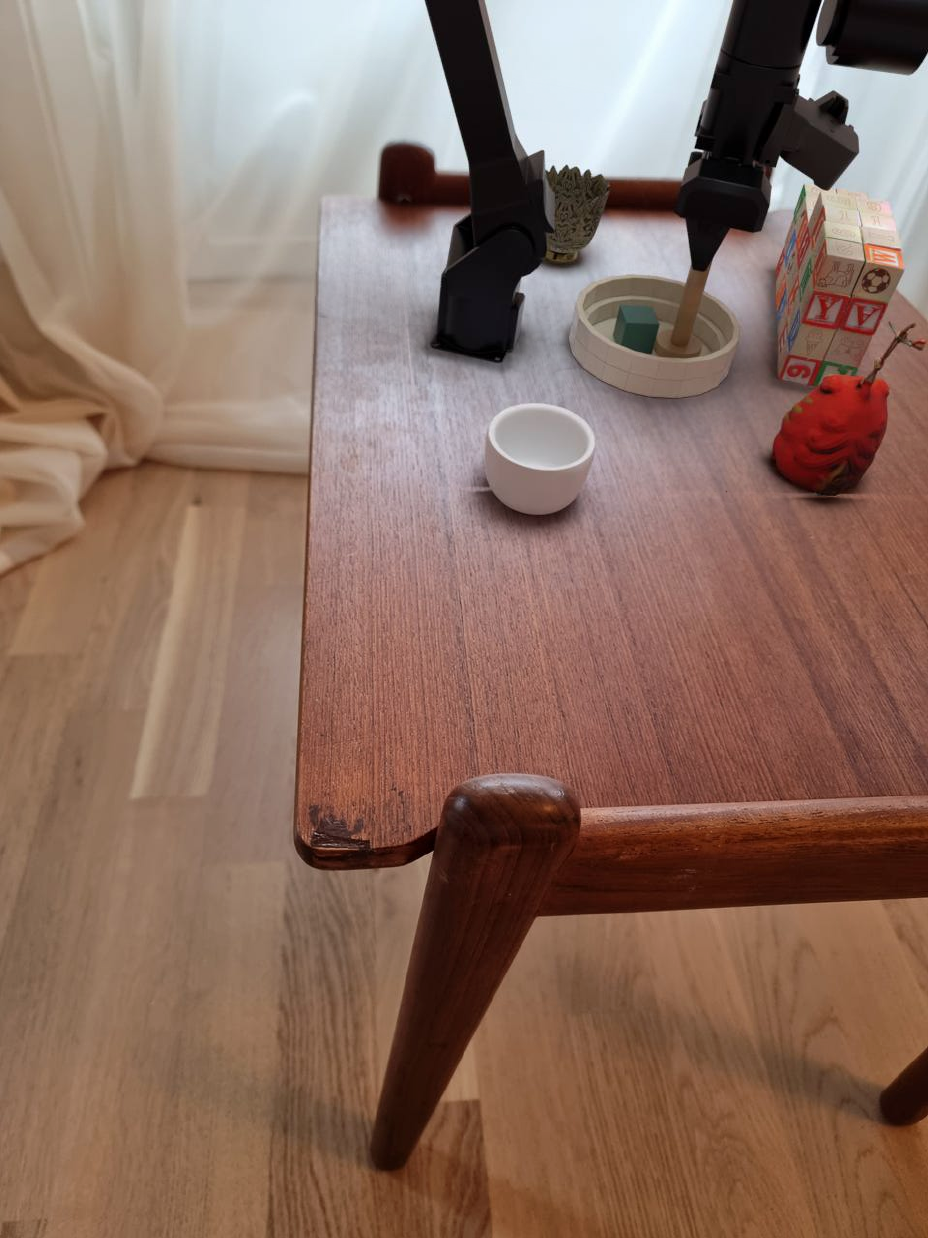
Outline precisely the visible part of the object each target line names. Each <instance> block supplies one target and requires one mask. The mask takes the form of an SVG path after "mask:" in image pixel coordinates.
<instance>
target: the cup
mask: <svg viewBox="0 0 928 1238" xmlns="http://www.w3.org/2000/svg"><path fill="white" fill-rule="evenodd" d="M545 170H546V179H547V181H548V184H549V187H550V188H551V190H552V191H553V193H554V194H555V220H554V233H553V234H550V233H548V245H547V253H546V257H545V258H544V261H546V262H548V263H550V264H554V265H559V266H566V265H570V264H573V263H574V262H575V261H576V260H577V258H578V252H579V251H582V250H583V249H585V248H586V247H587V246H588V245H589V244H590V243H592V241H593V239H594V237H595V235H596V233H597V231H598V228H599V225H600V222H601V219H602V216H603V213H604V210H605V207H606V203H607V200H608V197H609V194H610V190H609V189H610V186H611V185H610V181H607V182H606V179H605V177H604V175H603V174H602V173H599V174H597V175H595V176H592V175H593V174H592V172H591V169H590V168H587V169H585V171H584V172H583V174H582V173H581V169H580V168H579V167H578V166H574V167H573V166H572V167H571V168H570V167H569V165H568V164H565V165H564V166H563V167H562V168H561V169H560V170H559V171H557V169H556V166H555V165H554V164H553V165H551V168H550V169H549V170H548V169H546V168H545Z"/></svg>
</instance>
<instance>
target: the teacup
mask: <svg viewBox="0 0 928 1238" xmlns="http://www.w3.org/2000/svg"><path fill="white" fill-rule="evenodd" d="M595 453H596V437H595V433H594V432H593V429H592V428H591V426H590V425H589V424H588V423H587V421H586V420H584V419H583V418H582V417H581V416H579V415H578V414H576V413H575V412H572V411H571V410H569V409H567V408H565V407H561V406H557V405H554V404H549V403H540V402H527V403H520V404H516V405H512V406H509V407H507V408H504V409H503V410H501V411H500V412H498V413H497V414H496V415H495V416H494V417H493V418H492V420H491V421H490V423H489V425H488V427H487V431H486V435H485V443H484V472H485V473H484V474H485V477H486V480H487V483H488V486H489V488H490V490H491V491H492V493H493V494H494V496H495V497H496V498H497V499H498V500H499V501H500V502H501V503H502V504H504V505H505V506H506V507H508V508H510V509H511V510H513V511H516V512H519V513H522V514H525V515H526V514H527V515H533V516H538V515H540V516H543V515H548V514H553V513H556V512H559V511H561V510H562V509H564V508H566V507H567V506H569V505H571V504H572V502H574V501H575V499H576V498H577V497H578V495H579V494H580V492H581V490H582V488H583V486H584V484H585V482H586V480H587V478H588V475H589V472H590V469H591V467H592V466H591V465H592V462H593V461H594V458H595Z"/></svg>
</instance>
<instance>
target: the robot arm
mask: <svg viewBox="0 0 928 1238" xmlns="http://www.w3.org/2000/svg"><path fill="white" fill-rule="evenodd" d="M424 4H425V8H426V10H427V16H428V19H429V22H430V26H431V29H432V33H433V38H434V40H435V45H436V49H437V52H438V56H439V60H440V63H441V66H442V70H443V74H444V77H445V81H446V85H447V90H448V93H449V96H450V99H451V103H452V107H453V110H454V115H455V118H456V122H457V125H458V129H459V133H460V136H461V140H462V144H463V148H464V151H465V156H466V159H467V164H468V179H469V199H470V200H469V201H470V203H469V204H470V212H469V213H468V214H466V215H464V216H463V217H462V218H461V219H460V220H458V221H457V222H456V223H454V224H453V226H452V232H451V236H450V242H449V249H448V253H447V254H448V255H447V258H446V264H445V268H444V269H443V271H442V273H441V275H440V283H439V296H438V310H437V320H436V332H435V334H434V336H433V337H432V339H431V341H430V343H429V347H430V348H432V349H434V350H435V349H436V350H439V351H443V352H447V353H452V354H456V355H461V356H465V357H468V358H473V359H478V360H483V361H486V362H491V363H495V364H501V363H503V362H504V360H505V358H506V356H507V354H508V352H511V351H513V350H514V348H515V346H516V345H517V342H518V340H519V337H520V332H521V327H522V321H523V320H522V319H523V313H524V308H525V301H526V296H525V294H524V292H520V289H521V283H522V278H524V277H527V276H529V275H531V274H532V273H533V272H535V271H536V270H538V269H539V267H540V266H541V264H542V263H543V262H544V261H545V259H544V258H545V257H546V253H547V245H548V233H550V234H553V233H554V220H555V194H554V193H553V191H552V190H551V188H550V187H549V184H548V181H547V179H546V170H547V169H546V152H545V150H544V149H540V150H539V151H536V152H533V153H532V154H530V155H528V153H527V152H526V150H525V148H524V146H523V144H522V143H521V141H520V139H519V137H518V135H517V132H516V128H515V124H514V119H513V116H512V111H511V107H510V103H509V99H508V94H507V90H506V86H505V81H504V77H503V72H502V68H501V64H500V60H499V56H498V52H497V51H498V50H497V46H496V42H495V39H494V35H493V30H492V26H491V22H490V21H491V20H490V17H489V13H488V8H487V4H486V0H424ZM819 11H820V12H819ZM817 17H818V19H817ZM816 20H817V25H816V30H815V43H816V46H818V47H822V48H825V61H826V63H827V65H829V66H835V67H843V68H851V69H858V70H866V71H872V72H879V73H880V72H881V73H887V74H894V75H901V76H907V77H908V76H911V75H913V74H915V73H916V72H917V70H919V68H920V67H921V65H922V64H923V63H924V61H925V59H926V57H927V56H928V0H732V3H731V6H730V11H729V14H728V17H727V22H726V25H725V30H724V33H723V38H722V42H721V45H720V48H719V52H718V56H717V60H716V63H715V67H714V71H713V75H712V79H711V82H710V85H709V86H710V87H709V90H708V93H707V97H706V99H705V100H704V101H702V105H701V109H700V112H699V116H698V120H697V123H696V128H695V131H694V135H693V136H694V137H696V139H695V144H694V148H693V149H695V151H691V152H690V155H689V157H688V162H687V167H685V169H684V173H683V176H682V180H681V184H680V189H679V192H678V195H677V198H676V199H677V200H676V204H675V207H674V210H673V213H674V214H675V215H677V217H679V218H682V219H684V221H685V227H686V233H687V241H688V248H689V256H690V265H691V264H692V269H693V270H696V271H700V272H705V271H706V270H707V268H708V266H709V265H710V263H711V261H712V259H713V260H714V257H715V256H716V254H717V252H718V251H719V249H720V247H721V245H722V243H723V242H724V240H725V239H726V237H727V235H728V233H729V232H730V230H731V229H732V230H737V231H742V232H746V233H751V234H754V233H759V232H762V231H763V227H764V224H765V221H766V218H767V215H768V212H769V210H770V206H771V199H772V198H771V197H772V188H773V187H772V184H771V182H770V180H769V178H768V177H767V175H766V172H767V167H768V168H769V167H770V168H774V169H775V168H777V165H778V162H779V159H780V158H781V159H782V160H783V161H784V162H785V163H786V164H788V165H789V166H791V167H792V168H794V169H795V170H797V171H798V172H800V173H802V174H803V175H804V176H806V177H807V178H809V179H811V180H812V181H813V185H816V186H817V187H819V188H820V189H822V190H825V191H829V190H830V189H831V188H833V186H834V185H835V184H836V183H837V182H838V180H839V179H840V178H841V177H842V175H843V174H844V173H845V171H846V170H847V169H848V168H849V167H850V165H851V164H852V163H853V161H854V160H855V159H856V158H857V156H858V155H859V154H860V141H859V136H858V134H857V132H856V131H855V127H854V126H853V125H852V124H851V123H849V124H846V122H847V117H848V114H849V108H850V105H849V104H850V101H849V99H848V98H847V97H846V96H843V94H840V93H839V92H837V91H836V90H834V89H833V90H831V91H829V92H828V93H825V94H824V95H823V96H822V95H821V97H819V98H817V99H813V98H812V97H809V98H808V99H806V98H805V97H803V96H802V95H800V88H799V84H800V81H801V74H800V71H801V67H802V65H803V61H804V57H805V55H806V52H807V49H808V45H809V42H810V39H811V36H812V33H813V30H814V27H815V24H816ZM697 150H699V151H697ZM756 162H757V163H756ZM545 169H546V170H545ZM712 262H713V261H712Z"/></svg>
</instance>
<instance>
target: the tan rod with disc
mask: <svg viewBox="0 0 928 1238" xmlns="http://www.w3.org/2000/svg"><path fill="white" fill-rule="evenodd" d="M713 261H714V258H713V259H712V261H711V263H710V265H709V266H708V268H707V270H706V271H705V272H700V271H696V270H693V269H692V264H691V263H690V266H689V270H688V274H687V276H686V281H685V283H686V284H685V288H684V291H683V295H682V299H681V302H680V306H679V309H678V313H677V317H676V320H675V324H674V328H673V329H669V330H664V331H661V332H660V333H659V334H658V335H657V337H656V341H655V344H654V350H655V352H656V354H657V355H658V356H659V357H667V358H685V359H686V358H693V357H699V356H700V352H701V349H702V343H701V341H700V339H699V338H698V337H696V336H695V335H693V334H691V333H692V330H693V326H694V323H695V319H696V316H697V313H698V309H699V306H700V302H701V299H702V295H703V292H704V291H705V288H706V286H707V282H708V278H709V275H710V271H711V268H712V265H713Z"/></svg>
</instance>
